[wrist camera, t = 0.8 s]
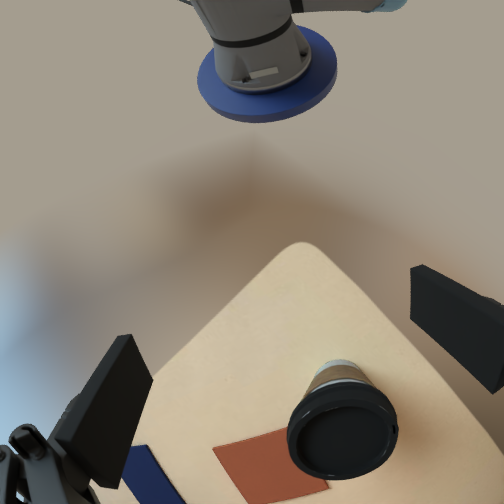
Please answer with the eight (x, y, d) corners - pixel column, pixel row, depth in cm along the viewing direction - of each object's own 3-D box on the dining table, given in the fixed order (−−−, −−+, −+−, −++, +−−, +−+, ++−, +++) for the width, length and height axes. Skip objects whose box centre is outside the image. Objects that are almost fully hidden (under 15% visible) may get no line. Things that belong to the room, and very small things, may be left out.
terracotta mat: (213, 447, 32) (211, 449, 31) (294, 424, 30) (293, 426, 29) (250, 504, 29) (250, 506, 28) (328, 486, 27) (328, 488, 26)
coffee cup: (380, 400, 28) (409, 467, 13) (313, 422, 29) (299, 497, 15) (362, 338, 29) (390, 374, 15) (293, 362, 31) (266, 412, 17)
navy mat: (106, 448, 36) (104, 449, 36) (146, 444, 34) (145, 445, 34) (147, 510, 32) (146, 511, 32) (191, 511, 31) (190, 513, 30)
